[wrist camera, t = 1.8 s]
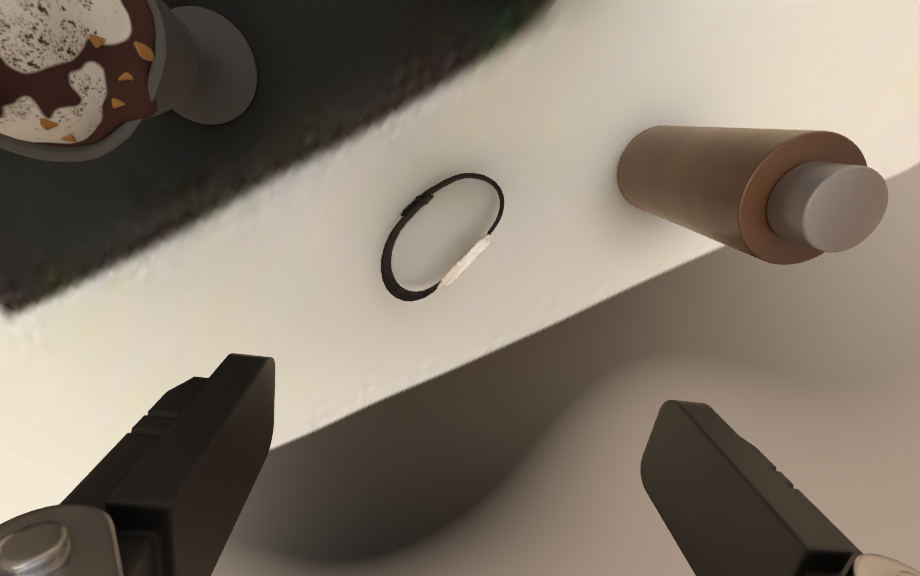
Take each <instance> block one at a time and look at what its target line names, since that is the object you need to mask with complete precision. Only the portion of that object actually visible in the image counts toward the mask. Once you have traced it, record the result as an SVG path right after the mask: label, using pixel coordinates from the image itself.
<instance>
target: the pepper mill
mask: <svg viewBox="0 0 920 576" xmlns="http://www.w3.org/2000/svg"><path fill="white" fill-rule="evenodd" d="M618 183H619V187H620V190H621V192H622V194H623V196H624V197H625V198H626V199H627V201H628V202H630V203H631V204H632V205H634V206H635V207H637V208H640V209H642V210H644V211H647V212H649V213H652V214H654V215H656V216H659V217H661V218H663V219H666V220H668V221H671V222H673V223H675V224H678V225H680V226H682V227H685V228H687V229H690V230H692V231H694V232H697V233H699V234H701V235H704V236H706V237H709V238H711V239H713V240H716V241H718V242H721V243H723V244H725V245H728V246H730V247H732V248H735V249H737V250H740V251H742V252H744V253H747V254H749V255H752V256H754V257H757V258H759V259H761V260H763V261H766V262H769V263H773V264H781V265H785V264H796V263H801V262H804V261H807V260H810V259H813V258H815V257H817V256H819V255H821V254H823V253H824V252H839V251H844V250H847V249H850V248H852V247H854V246H856V245H858V244H859V243H861V242H862V241H863V240H865V239H866V238H867V237H868V236H869V235H870V234H871V233H872V232H873V231H874V230H875V229H876V227H877V226H878V224H879V223H880V221H881V219H882V218H883V215H884V213H885V210H886V207H887V202H888V189H887V185H886V183H885V181H884V179H883V177H882V176H881V175H880V174H879V173H878V172H876V171H875V170H874V169H871V168H869V167H867V164H866V160H865V158H864V156H863V154H862V152H861V151H860V149H859V148H858V147H857V146H856V145H855V144H854V143H853V142H852V141H851V140H849V139H848V138H846V137H845V136H842V135H840V134H838V133H834V132H829V131H812V130H782V129H751V128H721V127H690V126H657V127H653V128H650V129H648V130H646V131H644V132H642V133H641V134H639V135H638V136H637V137H635V138H634V139H633V140H632V141H631V142H630V144H629V145H628V146H627V148H626V149H625V151H624V153H623V155H622V157H621V159H620V162H619V167H618Z"/></svg>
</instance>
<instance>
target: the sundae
mask: <svg viewBox="0 0 920 576" xmlns="http://www.w3.org/2000/svg"><path fill="white" fill-rule="evenodd" d="M257 78H258V76H257V68H256V63H255V59H254V55H253V52H252V50H251V48H250V46H249V44H248V42H247V41H246V39H245V38H244V36H243V35H242V33H241V32H240V31H239V30H238V29H237V28H236V27H235V26H234V25H233V24H232V23H231V22H230V21H228V20H227V19H226V18H225V17H223V16H222V15H220V14H218V13H216V12H214V11H212V10H209V9H206V8H203V7H199V6H183V7H176V8H174V9H172V10H171V9H170V8H169V7H168V6H167V5H166V4H165V3H164V2H163V1H161V0H0V148H2V149H5V150H8V151H11V152H14V153H16V154H20V155H24V156H28V157H32V158H36V159H40V160H46V161H59V162H77V161H87V160H91V159H95V158H99V157H102V156H103V155H105V154H107V153H108V152H110V151H112V150H113V149H115V148H116V147H117V146H119V145H120V144H121V143H122V142H124V141H125V140H126V139H127V138H129V137H130V135H131V134H132V133H133V131H134V130H135V129H136V127H137V126H138V124H139V123H140V122H141V120H146V119H148V118H150V117H153V116H157V115H159V114H161V113H164V112H166V111H168V110H170V109H172V110H174V111H175V112H176V113H178V114H179V115H181V116H182V117H184V118H187V119H189V120H191V121H194V122H198V123H201V124H222V123H226V122H229V121H231V120H233V119H235V118H236V117H238V116H240V115H241V114H242V113H243V112H244V111H245V110H246V109H247V107H248V106H249V104H250V103H251V101H252V100H253V98H254V94H255V90H256V86H257Z"/></svg>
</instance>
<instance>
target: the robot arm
mask: <svg viewBox="0 0 920 576" xmlns="http://www.w3.org/2000/svg"><path fill="white" fill-rule="evenodd" d="M274 396H275V362H274V359H273V358H272V357H263V356H254V355H244V354H234V353H231V354H229V355H228V356H227V357H226V358H225V359H224V361H223V362H222V363H221V364H220V365H219V367H218V368H217V369H216V370H215V371H214V372H213V374H212V375H211V376H210V377H209V378H203V377H193V378H191V379H189V380H188V381H186V382H184V383H182V384H180V385H178V386H177V387H175V388H173V389H171V390H169V391H167V392H166V393H165V394H164V395H163V396H162V397H161V399H160V400H159V401H158V402H157V403H156V404H155V405H154V406H153V407H152V408H151V409H150V410H149V411H148V415H147V416H145V415H144V416H143V417H142V418H141V420H140V421H139V422H138V423H137V424H136V425H135V426H134V427H133V428H132V431H131V433H127V434H126V435H125V436H124V437H123V438H122V439H121V440H120V442H119V443H118V444H117V445H116V446H115V447H114V448H113V449H112V450H111V451H110V452H109V453H108V454H107V455H106V456H105V457H104V458H103V459H102V460H101V461H100V463H99V464H98V465H97V466H96V467H95V468H94V469H93V470H92V471H91V472H90V473H89V474H88V475H87V476H86V477H85V478H84V479H83V480H82V481H81V482H80V484H79V485H78V486H77V487H76V488H75V489H74V490H73V491H72V492H71V493H70V494H69V495H68V496H67V497H66V498H65V499H64V500H63V501H62V502H61V503H60V505H55V506H49V507H44V508H41V509H37V510H34V511H30V512H28V513H25V514H22V515H19V516H17V517H15V518H12V519H10V520H8V521H6V522H4V523H2V524H0V576H211V574H212V572H213V570H214V568H215V566H216V563H217V561H218V559H219V557H220V555H221V553H222V551H223V549H224V546H225V544H226V542H227V540H228V538H229V536H230V534H231V532H232V530H233V527H234V525H235V523H236V521H237V519H238V517H239V515H240V513H241V510H242V508H243V506H244V504H245V502H246V500H247V498H248V495H249V493H250V491H251V489H252V487H253V485H254V483H255V481H256V479H257V477H258V474H259V472H260V470H261V468H262V466H263V464H264V462H265V460H266V457H267V455H268V452H269V448H270V445H271V440H272V435H273V427H274ZM641 478H642V482H643V485H644V488H645V490H646V492H647V494H648V495H649V497H650V499H651V500H652V502H653V503H654V505H655V507H656V509H657V510H658V512H659V514H660V516H661V517H662V519H663V521H664V522H665V524H666V526H667V527H668V529H669V531H670V532H671V534H672V536H673V538H674V539H675V541H676V543H677V544H678V546H679V548H680V549H681V551H682V553H683V555H684V556H685V558H686V560H687V561H688V562H689V565H690V566H691V568H692V570H693V571H694V573H695V575H696V576H920V572H919V571H917V570H916V569H914V568H912V567H910V566H908V565H906V564H904V563H901V562H899V561H897V560H894V559H891V558H888V557H885V556H881V555H877V554H863V553H862V552H861V551H860V550H859V549H858V548H857V547H856V546H854V544H853V543H852V542H851V541H850V540H849V539H848V538H847V537H845V536H844V535H843V533H842V532H841V531H839V529H837V527H836V526H835V525H833V524H832V523H831V522H830V521H829V520H828V519H827V518H826V517H825V516H824V515H823V514H822V513H821V512H820V511H819V510H818V509H817V508H816V507H815V506H814V505H813V504H812V503H811V502H810V501H809V500H808V499H807V498H806V497H805V496H804V495H803V494H802V493H801V492H800V491H799V490H798V489H794V488H793V484H792V483H791V482H790V481H789V480H788V479H787V478H786V477H785V476H784V475H783V474H782V473H781V472H778V471H776V467H775V466H774V465H773V464H772V463H771V462H770V461H769V460H768V459H767V458H766V457H765V456H764V455H763V454H762V453H761V452H760V451H759V450H758V449H757V448H756V447H755V446H753V445H752V444H750V443H749V442H747V441H746V440H744V439H743V438H741V437H740V436H739V435H738V434H736V433H735V431H734V430H733V429H732V428H731V427H730V426H729V425H728V424H727V423H726V422H725V421H724V420H723V419H722V418H721V417H720V416H719V415H718V414H717V413H716V412H715V411H714V410H713V409H712V408H711V407H710V406H708V405H707V404H704V403H695V402H686V401H677V400H668V401H666V402H665V403H664V404H663V405H662V406H661V408H660V411H659V413H658V416H657V419H656V421H655V424H654V427H653V429H652V432H651V435H650V437H649V441H648V443H647V446H646V448H645V451H644V454H643V457H642V460H641Z"/></svg>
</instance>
